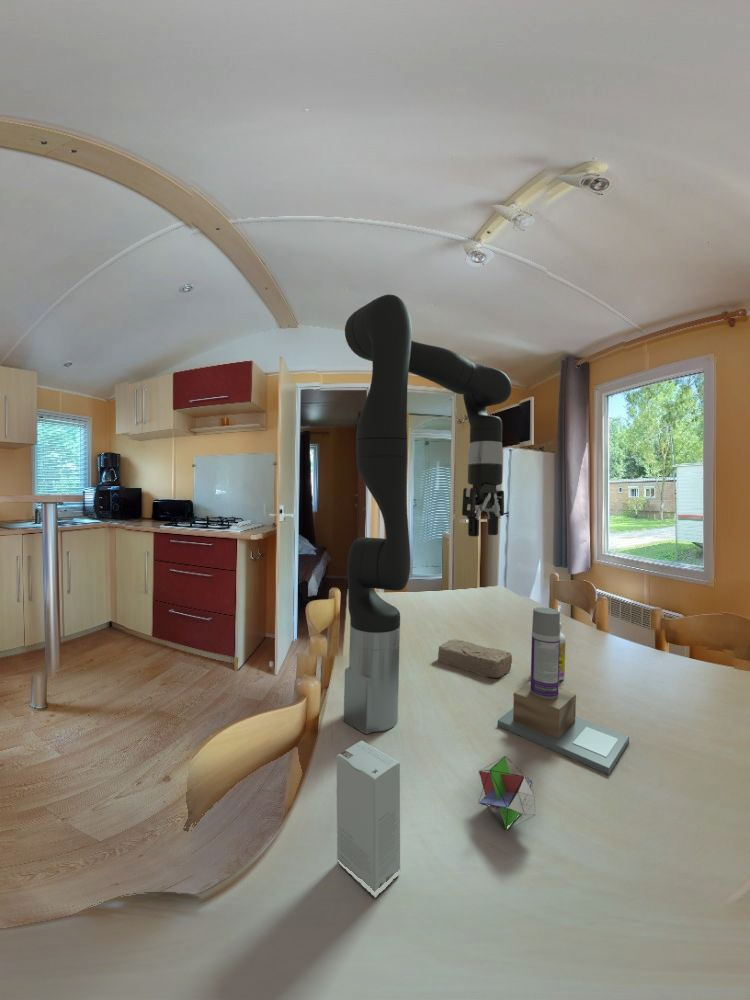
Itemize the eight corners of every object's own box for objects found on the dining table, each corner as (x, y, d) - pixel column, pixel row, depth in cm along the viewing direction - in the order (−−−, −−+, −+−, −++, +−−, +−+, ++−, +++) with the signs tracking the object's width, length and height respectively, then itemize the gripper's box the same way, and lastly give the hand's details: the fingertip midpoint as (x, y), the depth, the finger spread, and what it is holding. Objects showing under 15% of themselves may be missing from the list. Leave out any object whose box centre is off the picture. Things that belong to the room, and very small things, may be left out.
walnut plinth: (558, 739, 67) (559, 709, 67) (513, 720, 73) (513, 692, 73) (575, 721, 73) (575, 694, 73) (531, 705, 78) (532, 679, 78)
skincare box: (401, 874, 43) (404, 760, 43) (373, 904, 40) (376, 781, 40) (361, 840, 47) (363, 736, 47) (332, 864, 44) (335, 753, 44)
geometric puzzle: (455, 790, 53) (489, 759, 49) (482, 767, 58) (515, 737, 54) (494, 851, 49) (534, 822, 45) (520, 821, 53) (558, 792, 50)
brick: (436, 662, 102) (436, 643, 102) (452, 653, 108) (452, 635, 108) (498, 682, 91) (499, 662, 91) (512, 671, 98) (513, 652, 98)
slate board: (608, 774, 60) (609, 767, 60) (497, 725, 73) (497, 719, 73) (628, 742, 68) (629, 735, 68) (526, 703, 81) (526, 697, 81)
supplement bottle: (534, 679, 93) (535, 623, 93) (533, 668, 99) (534, 616, 99) (566, 684, 90) (567, 627, 91) (562, 672, 97) (564, 619, 97)
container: (535, 685, 76) (537, 605, 76) (561, 693, 73) (563, 610, 73) (526, 693, 72) (528, 610, 72) (554, 702, 69) (556, 615, 70)
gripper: (484, 459, 82) (482, 538, 82) (515, 465, 92) (513, 535, 92) (453, 461, 88) (451, 535, 87) (486, 466, 98) (484, 533, 98)
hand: (483, 535), depth 90 cm, fingers open, 8 cm apart
